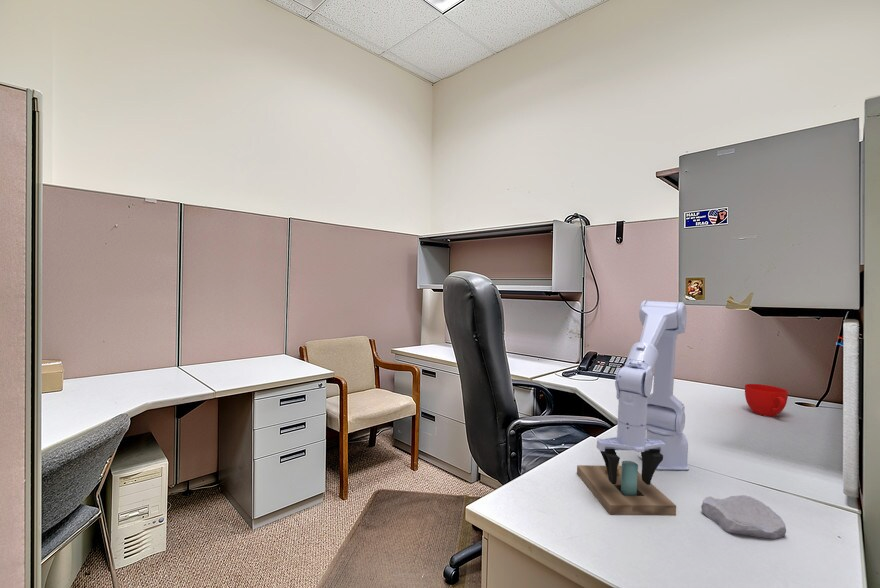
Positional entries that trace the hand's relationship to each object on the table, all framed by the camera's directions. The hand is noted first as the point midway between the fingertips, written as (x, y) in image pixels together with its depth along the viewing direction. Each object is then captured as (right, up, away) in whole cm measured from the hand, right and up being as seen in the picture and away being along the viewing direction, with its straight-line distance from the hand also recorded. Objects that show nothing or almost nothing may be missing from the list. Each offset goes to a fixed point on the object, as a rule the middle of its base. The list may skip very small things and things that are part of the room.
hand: (629, 482), depth 90 cm
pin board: (0, -4, +3) cm, 5 cm away
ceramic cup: (+82, -5, +63) cm, 104 cm away
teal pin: (0, -4, 0) cm, 4 cm away
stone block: (+19, -5, -8) cm, 22 cm away
